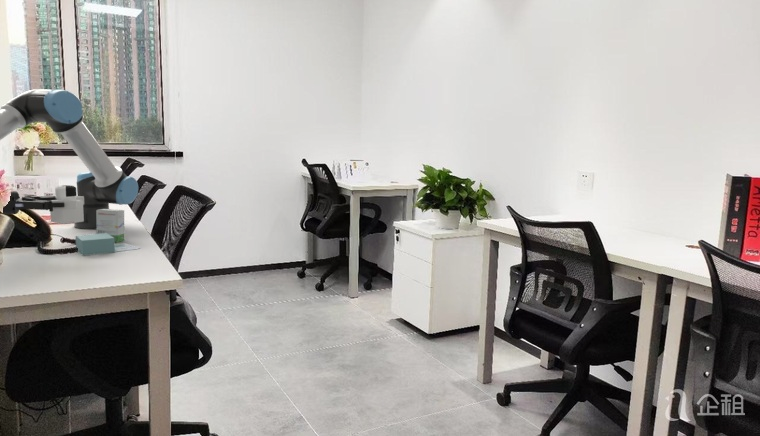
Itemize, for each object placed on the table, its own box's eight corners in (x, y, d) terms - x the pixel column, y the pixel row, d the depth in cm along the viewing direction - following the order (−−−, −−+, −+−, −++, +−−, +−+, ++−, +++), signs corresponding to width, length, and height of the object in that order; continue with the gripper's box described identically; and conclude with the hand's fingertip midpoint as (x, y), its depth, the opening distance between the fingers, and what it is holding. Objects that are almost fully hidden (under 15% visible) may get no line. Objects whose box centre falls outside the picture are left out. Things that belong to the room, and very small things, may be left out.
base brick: (76, 249, 196) (75, 235, 195) (107, 246, 202) (106, 233, 201) (82, 255, 188) (81, 240, 187) (114, 252, 194) (114, 237, 193)
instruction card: (103, 245, 203) (103, 245, 203) (125, 243, 209) (125, 242, 209) (117, 251, 195) (117, 251, 195) (140, 248, 201) (140, 248, 201)
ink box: (96, 241, 211) (95, 209, 209) (104, 238, 216) (103, 208, 214) (118, 242, 210) (117, 211, 208) (125, 240, 215) (124, 209, 213)
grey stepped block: (71, 219, 191) (69, 184, 190) (84, 221, 188) (82, 185, 186) (50, 222, 185) (48, 185, 183) (63, 224, 182) (61, 187, 180)
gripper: (15, 209, 192) (88, 208, 198) (-10, 219, 171) (72, 219, 177) (14, 187, 191) (87, 187, 197) (-12, 195, 169) (71, 195, 175)
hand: (80, 202), depth 187 cm, fingers closed on grey stepped block, 10 cm apart
